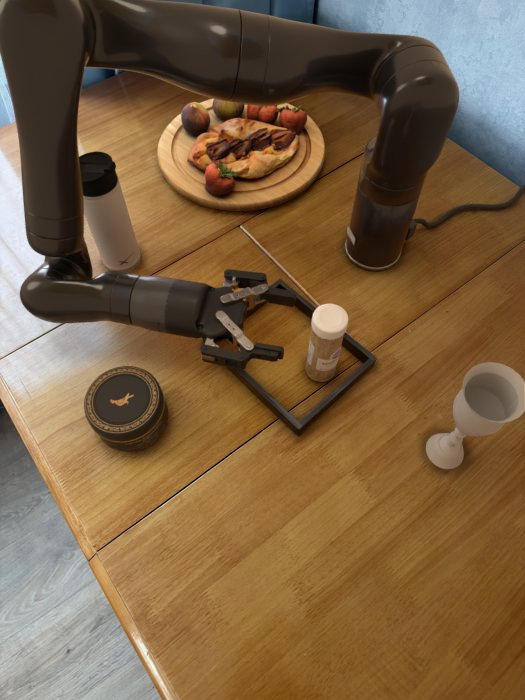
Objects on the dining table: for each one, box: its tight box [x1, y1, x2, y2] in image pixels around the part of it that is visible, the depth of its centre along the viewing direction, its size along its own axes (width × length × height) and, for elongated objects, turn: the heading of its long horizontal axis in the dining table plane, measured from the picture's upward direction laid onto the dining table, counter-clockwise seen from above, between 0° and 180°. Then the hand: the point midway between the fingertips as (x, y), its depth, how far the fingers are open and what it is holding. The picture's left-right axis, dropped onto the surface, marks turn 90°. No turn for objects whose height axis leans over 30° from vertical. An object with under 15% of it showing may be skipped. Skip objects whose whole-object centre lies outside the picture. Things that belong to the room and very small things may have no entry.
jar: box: [83, 365, 169, 453], centre depth 70 cm, size 10×10×8 cm
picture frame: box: [202, 278, 378, 437], centre depth 78 cm, size 16×20×2 cm
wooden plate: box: [156, 98, 327, 212], centre depth 98 cm, size 32×32×8 cm
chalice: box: [425, 361, 525, 470], centre depth 63 cm, size 7×7×18 cm
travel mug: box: [79, 150, 142, 273], centre depth 80 cm, size 6×7×20 cm
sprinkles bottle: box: [305, 303, 349, 383], centre depth 72 cm, size 5×5×13 cm
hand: (289, 326), depth 70 cm, fingers open, 8 cm apart
